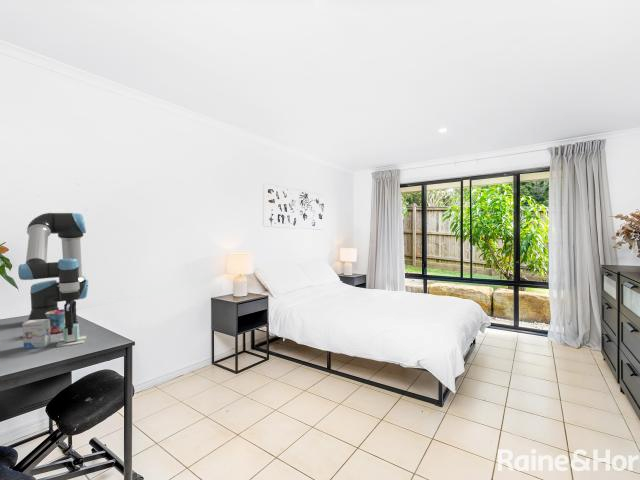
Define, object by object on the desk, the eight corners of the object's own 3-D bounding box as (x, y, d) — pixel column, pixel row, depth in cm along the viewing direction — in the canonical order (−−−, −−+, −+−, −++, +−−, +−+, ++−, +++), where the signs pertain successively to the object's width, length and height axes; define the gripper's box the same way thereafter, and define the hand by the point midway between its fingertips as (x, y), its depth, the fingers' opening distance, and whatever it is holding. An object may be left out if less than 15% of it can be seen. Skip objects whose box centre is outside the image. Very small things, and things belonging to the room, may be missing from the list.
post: (61, 339, 153) (60, 325, 153) (86, 335, 158) (86, 322, 158) (55, 347, 143) (54, 332, 142) (83, 343, 148) (82, 328, 147)
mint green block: (79, 336, 154) (78, 323, 154) (77, 340, 149) (76, 326, 149) (65, 338, 151) (65, 325, 151) (63, 342, 147) (63, 328, 147)
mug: (45, 335, 159) (44, 315, 159) (46, 331, 166) (45, 311, 166) (75, 330, 167) (74, 310, 166) (75, 326, 174) (74, 307, 173)
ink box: (22, 349, 141) (21, 323, 141) (29, 345, 146) (28, 320, 146) (45, 347, 144) (44, 321, 143) (51, 343, 149) (50, 318, 148)
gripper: (63, 288, 156) (65, 335, 156) (55, 295, 140) (57, 346, 141) (82, 287, 159) (84, 332, 160) (76, 293, 143) (78, 343, 144)
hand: (71, 339), depth 150 cm, fingers closed on mint green block, 5 cm apart
